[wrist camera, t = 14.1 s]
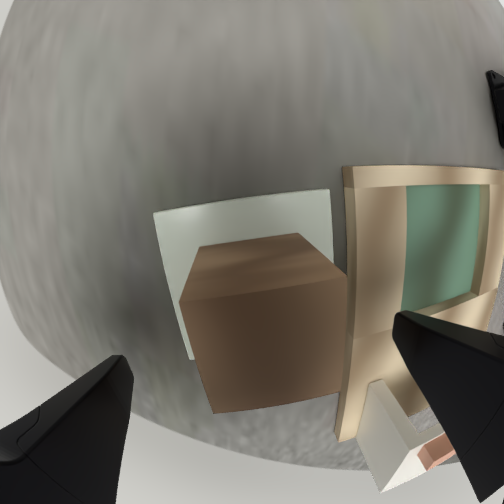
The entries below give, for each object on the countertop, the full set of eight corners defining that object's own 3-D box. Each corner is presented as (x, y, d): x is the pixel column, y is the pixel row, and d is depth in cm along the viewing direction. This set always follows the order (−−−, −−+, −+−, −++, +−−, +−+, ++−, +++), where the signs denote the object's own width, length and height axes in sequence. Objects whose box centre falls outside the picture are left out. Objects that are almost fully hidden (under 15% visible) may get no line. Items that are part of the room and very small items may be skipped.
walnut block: (298, 232, 12) (347, 276, 7) (303, 318, 14) (340, 391, 8) (199, 246, 12) (178, 302, 7) (216, 331, 13) (213, 413, 8)
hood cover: (477, 336, 15) (531, 383, 8) (454, 394, 17) (492, 441, 10) (369, 383, 15) (419, 468, 8) (355, 438, 17) (385, 506, 10)
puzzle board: (496, 169, 13) (507, 171, 12) (457, 380, 19) (463, 387, 17) (341, 166, 12) (352, 166, 11) (334, 432, 18) (338, 442, 17)
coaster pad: (325, 188, 12) (329, 189, 12) (329, 331, 15) (333, 337, 14) (156, 211, 12) (153, 213, 11) (190, 353, 14) (189, 359, 14)
